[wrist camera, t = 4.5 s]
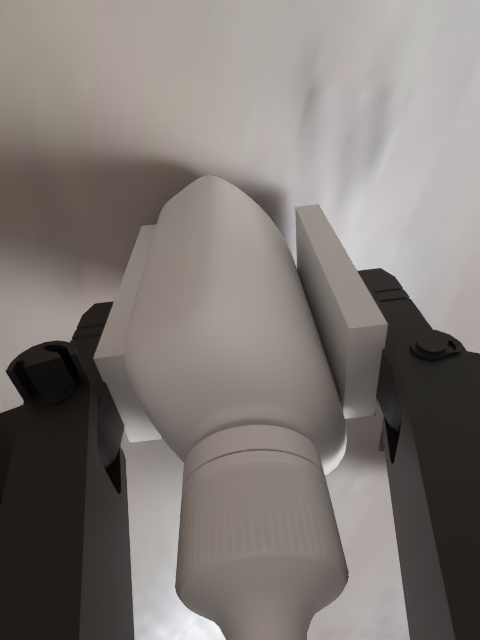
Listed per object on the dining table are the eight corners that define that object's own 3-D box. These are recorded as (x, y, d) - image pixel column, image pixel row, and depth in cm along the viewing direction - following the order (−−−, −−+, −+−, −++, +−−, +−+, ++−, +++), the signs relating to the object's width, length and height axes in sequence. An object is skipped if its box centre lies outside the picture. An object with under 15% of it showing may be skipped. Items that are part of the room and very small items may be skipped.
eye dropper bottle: (187, 320, 16) (144, 781, 6) (153, 176, 13) (-57, 688, 3) (298, 307, 16) (429, 755, 6) (293, 158, 12) (569, 627, 3)
